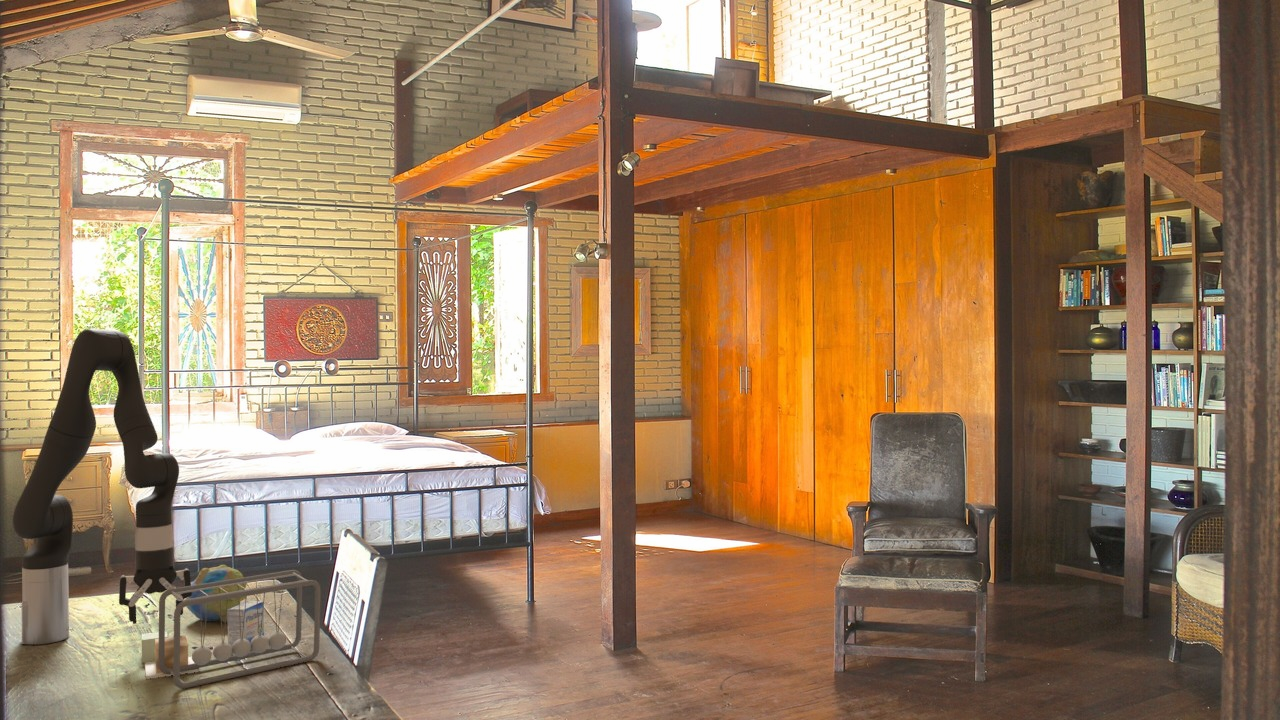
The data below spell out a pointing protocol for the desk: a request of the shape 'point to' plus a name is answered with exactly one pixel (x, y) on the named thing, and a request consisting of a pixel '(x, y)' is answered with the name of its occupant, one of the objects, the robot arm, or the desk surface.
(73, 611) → the desk surface
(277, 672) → the desk surface
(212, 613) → the globe ball
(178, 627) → the newton's cradle
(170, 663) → the oak block
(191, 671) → the board
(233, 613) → the medicine box
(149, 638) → the sage block
